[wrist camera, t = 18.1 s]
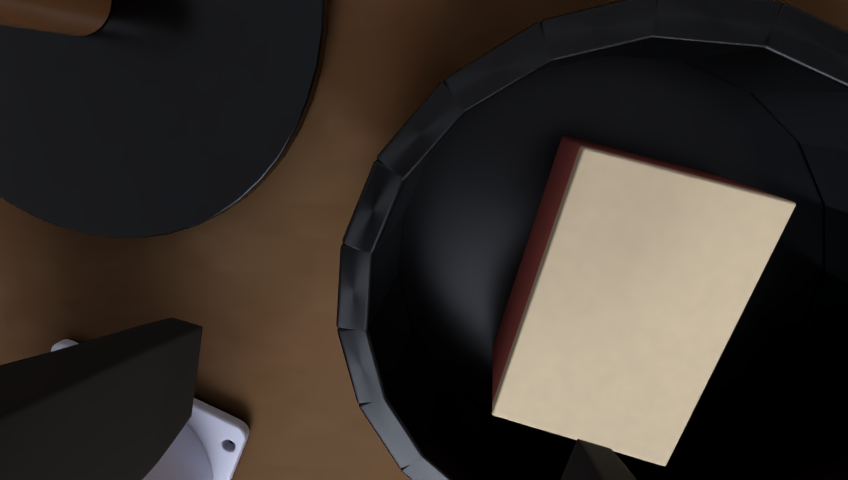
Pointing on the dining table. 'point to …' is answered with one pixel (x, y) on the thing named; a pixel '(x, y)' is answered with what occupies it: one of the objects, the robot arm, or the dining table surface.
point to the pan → (518, 204)
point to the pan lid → (150, 106)
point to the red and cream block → (628, 296)
